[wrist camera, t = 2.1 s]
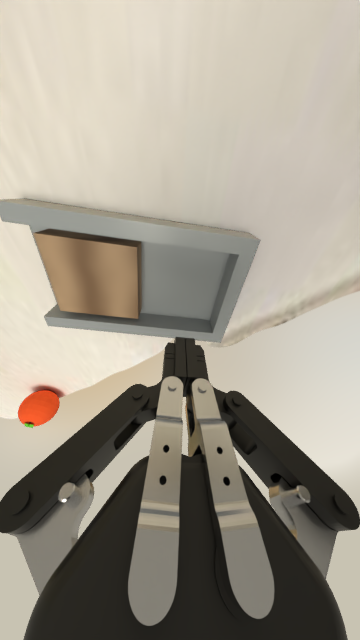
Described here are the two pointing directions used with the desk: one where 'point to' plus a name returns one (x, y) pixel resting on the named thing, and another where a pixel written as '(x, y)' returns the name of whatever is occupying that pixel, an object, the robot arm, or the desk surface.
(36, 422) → the clementine
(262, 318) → the desk surface
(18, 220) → the open box
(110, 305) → the cover plate
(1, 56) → the desk surface
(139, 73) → the desk surface
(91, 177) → the desk surface
